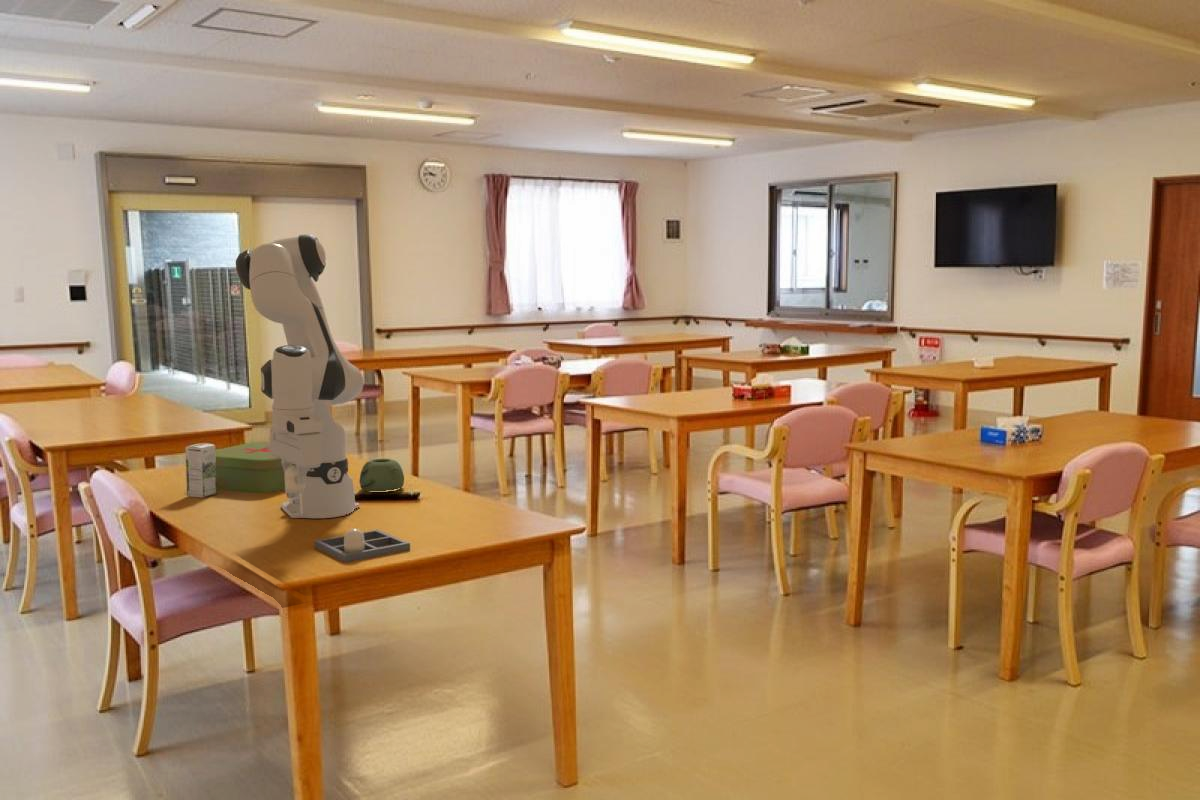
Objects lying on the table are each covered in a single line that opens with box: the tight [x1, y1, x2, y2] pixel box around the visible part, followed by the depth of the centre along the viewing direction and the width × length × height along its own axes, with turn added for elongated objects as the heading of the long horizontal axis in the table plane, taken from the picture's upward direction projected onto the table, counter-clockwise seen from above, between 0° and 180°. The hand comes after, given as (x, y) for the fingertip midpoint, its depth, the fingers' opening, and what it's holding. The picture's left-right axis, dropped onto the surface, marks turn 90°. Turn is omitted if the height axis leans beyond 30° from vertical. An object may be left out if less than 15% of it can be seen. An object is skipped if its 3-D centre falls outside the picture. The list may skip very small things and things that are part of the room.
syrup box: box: [184, 442, 218, 499], centre depth 284 cm, size 6×6×14 cm
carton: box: [314, 529, 411, 564], centre depth 226 cm, size 16×16×2 cm
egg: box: [284, 465, 306, 494], centre depth 223 cm, size 4×4×6 cm
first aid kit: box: [215, 441, 295, 494], centre depth 302 cm, size 26×26×10 cm
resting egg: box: [344, 528, 365, 554], centre depth 221 cm, size 4×4×6 cm
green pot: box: [359, 458, 405, 492], centre depth 291 cm, size 16×13×9 cm
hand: (295, 481), depth 223 cm, fingers closed on egg, 4 cm apart
